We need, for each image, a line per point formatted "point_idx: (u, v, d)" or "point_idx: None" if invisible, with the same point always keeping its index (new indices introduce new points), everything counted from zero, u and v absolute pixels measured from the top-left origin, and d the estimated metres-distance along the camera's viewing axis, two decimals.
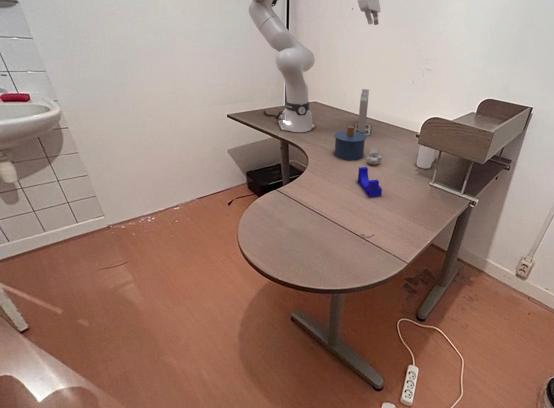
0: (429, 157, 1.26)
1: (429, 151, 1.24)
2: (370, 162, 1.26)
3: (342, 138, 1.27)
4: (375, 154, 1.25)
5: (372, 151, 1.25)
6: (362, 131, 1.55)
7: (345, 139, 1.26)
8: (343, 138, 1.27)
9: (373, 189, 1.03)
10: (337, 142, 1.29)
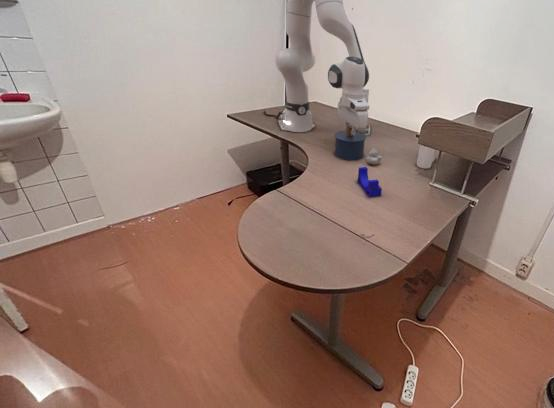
0: (429, 157, 1.26)
1: (429, 151, 1.24)
2: (370, 162, 1.26)
3: (342, 138, 1.27)
4: (375, 154, 1.25)
5: (372, 151, 1.25)
6: (362, 131, 1.55)
7: (345, 139, 1.26)
8: (343, 138, 1.27)
9: (373, 189, 1.03)
10: (337, 142, 1.29)
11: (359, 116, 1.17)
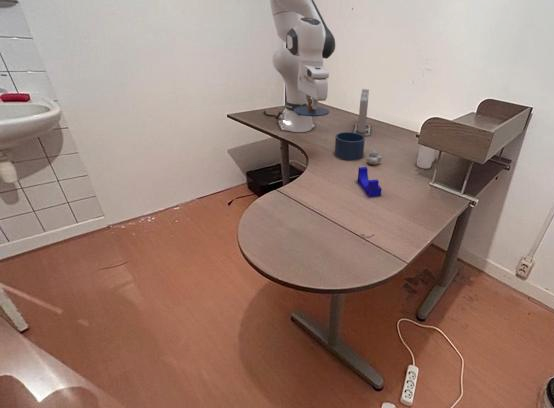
0: (429, 157, 1.26)
1: (429, 151, 1.24)
2: (370, 162, 1.26)
3: (301, 112, 1.14)
4: (375, 154, 1.25)
5: (372, 151, 1.25)
6: (362, 131, 1.55)
7: (304, 113, 1.13)
8: (302, 112, 1.14)
9: (373, 189, 1.03)
10: (337, 142, 1.29)
11: (317, 85, 1.04)
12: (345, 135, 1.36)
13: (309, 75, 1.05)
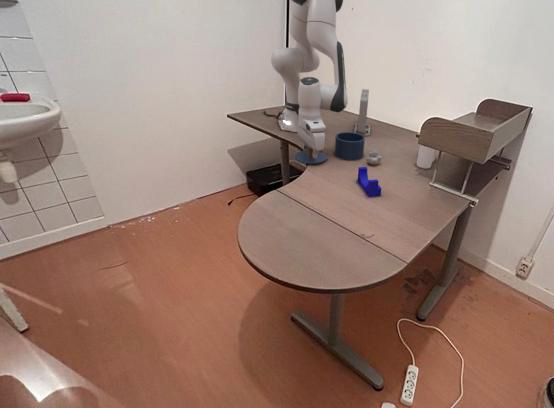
0: (429, 157, 1.26)
1: (429, 151, 1.24)
2: (370, 162, 1.26)
3: (302, 159, 1.24)
4: (375, 154, 1.25)
5: (372, 151, 1.25)
6: (362, 131, 1.55)
7: (304, 160, 1.23)
8: (303, 159, 1.24)
9: (372, 189, 1.03)
10: (337, 142, 1.29)
11: (315, 138, 1.14)
12: (345, 135, 1.36)
13: (308, 129, 1.14)
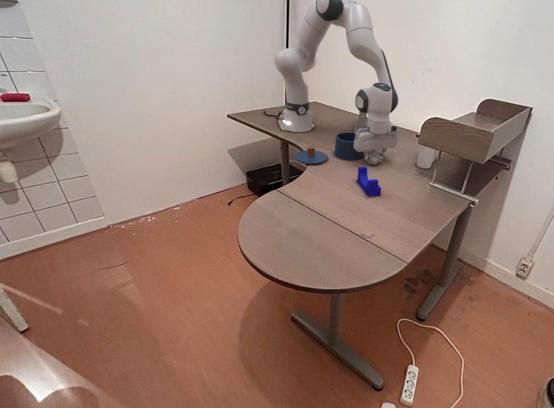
0: (429, 157, 1.26)
1: (429, 151, 1.24)
2: (370, 162, 1.26)
3: (302, 159, 1.24)
4: (375, 154, 1.25)
5: (372, 151, 1.25)
6: None
7: (304, 160, 1.23)
8: (303, 159, 1.24)
9: (372, 189, 1.03)
10: (337, 142, 1.29)
11: None
12: (345, 135, 1.36)
13: (394, 130, 1.21)
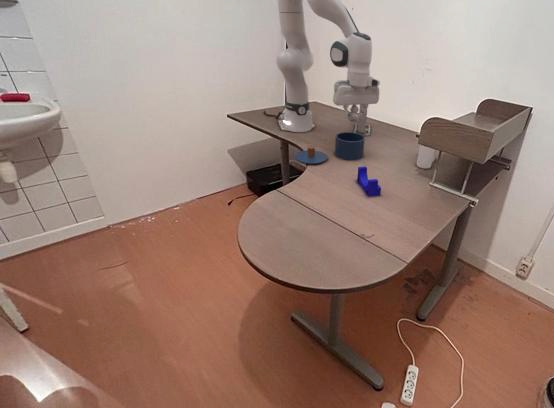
0: (429, 157, 1.26)
1: (429, 151, 1.24)
2: (351, 118, 1.24)
3: (302, 159, 1.24)
4: (356, 110, 1.22)
5: (353, 107, 1.22)
6: (362, 131, 1.55)
7: (304, 160, 1.23)
8: (303, 159, 1.24)
9: (372, 189, 1.03)
10: (337, 142, 1.29)
11: None
12: (345, 135, 1.36)
13: (374, 84, 1.19)
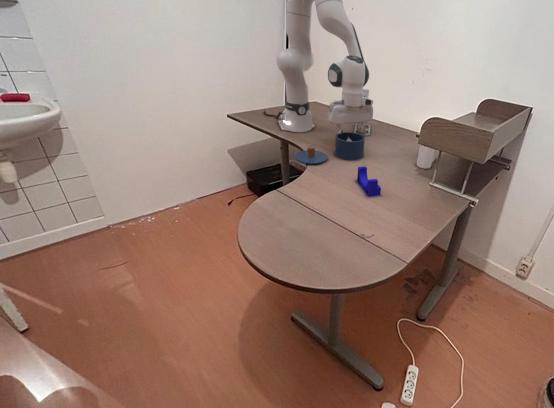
0: (429, 157, 1.26)
1: (429, 151, 1.24)
2: None
3: (302, 159, 1.24)
4: None
5: None
6: (362, 131, 1.55)
7: (304, 160, 1.23)
8: (303, 159, 1.24)
9: (372, 188, 1.03)
10: (337, 142, 1.29)
11: None
12: (345, 135, 1.36)
13: (368, 103, 1.24)
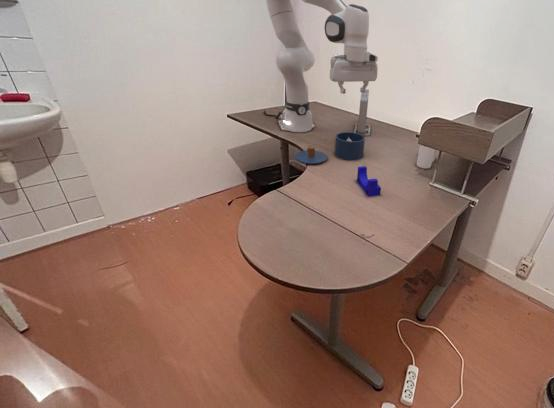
0: (429, 157, 1.26)
1: (429, 151, 1.24)
2: None
3: (302, 159, 1.24)
4: None
5: None
6: (362, 131, 1.55)
7: (304, 160, 1.23)
8: (303, 159, 1.24)
9: (372, 188, 1.03)
10: (337, 142, 1.29)
11: None
12: (345, 135, 1.36)
13: (372, 60, 1.15)
